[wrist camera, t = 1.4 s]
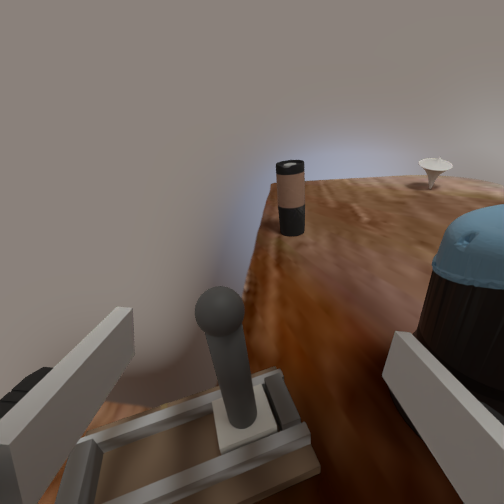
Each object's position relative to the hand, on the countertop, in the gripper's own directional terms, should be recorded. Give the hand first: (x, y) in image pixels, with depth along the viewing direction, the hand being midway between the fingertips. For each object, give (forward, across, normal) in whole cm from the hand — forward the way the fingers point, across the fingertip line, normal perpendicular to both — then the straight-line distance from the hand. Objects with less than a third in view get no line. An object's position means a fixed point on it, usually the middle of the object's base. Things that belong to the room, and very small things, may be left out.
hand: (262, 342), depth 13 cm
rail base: (+10, -5, -22) cm, 25 cm away
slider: (+11, +1, -19) cm, 22 cm away
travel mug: (+65, +12, -7) cm, 66 cm away
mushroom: (+89, +66, +10) cm, 111 cm away
